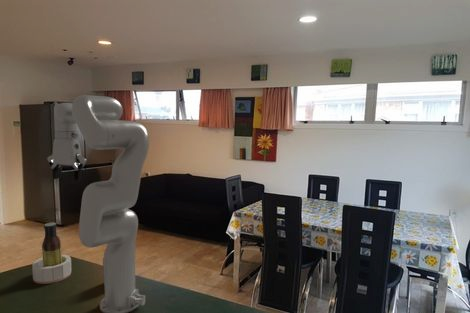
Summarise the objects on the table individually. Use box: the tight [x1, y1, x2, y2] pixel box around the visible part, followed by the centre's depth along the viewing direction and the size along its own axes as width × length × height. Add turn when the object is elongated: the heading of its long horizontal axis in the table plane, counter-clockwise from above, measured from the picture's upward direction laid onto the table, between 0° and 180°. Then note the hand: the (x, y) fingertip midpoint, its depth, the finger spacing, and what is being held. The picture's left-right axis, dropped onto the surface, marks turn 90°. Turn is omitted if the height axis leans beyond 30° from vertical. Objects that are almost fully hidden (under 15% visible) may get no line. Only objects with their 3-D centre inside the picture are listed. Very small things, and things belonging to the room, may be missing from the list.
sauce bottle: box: [41, 221, 63, 267], centre depth 122 cm, size 7×6×20 cm
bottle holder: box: [31, 253, 72, 285], centre depth 123 cm, size 13×13×6 cm
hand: (67, 179), depth 127 cm, fingers open, 9 cm apart
